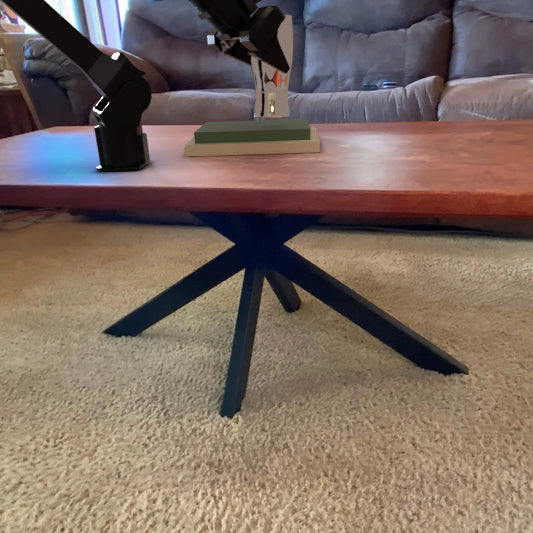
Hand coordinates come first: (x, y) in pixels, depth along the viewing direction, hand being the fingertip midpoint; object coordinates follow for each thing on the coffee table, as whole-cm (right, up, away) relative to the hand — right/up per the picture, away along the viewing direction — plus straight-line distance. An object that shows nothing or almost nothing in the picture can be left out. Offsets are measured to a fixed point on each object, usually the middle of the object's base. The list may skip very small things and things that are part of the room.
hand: (278, 70), depth 82 cm
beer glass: (-1, -7, +2) cm, 7 cm away
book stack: (-4, -10, +8) cm, 13 cm away
